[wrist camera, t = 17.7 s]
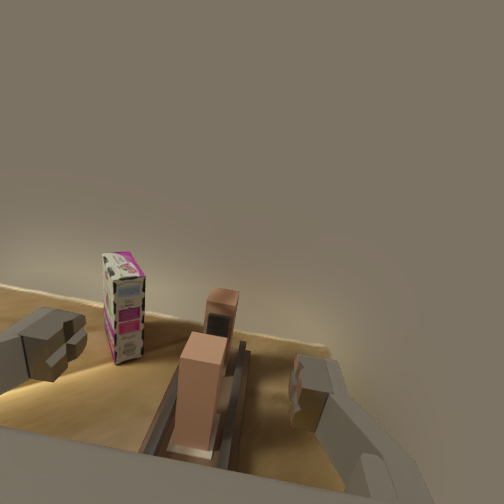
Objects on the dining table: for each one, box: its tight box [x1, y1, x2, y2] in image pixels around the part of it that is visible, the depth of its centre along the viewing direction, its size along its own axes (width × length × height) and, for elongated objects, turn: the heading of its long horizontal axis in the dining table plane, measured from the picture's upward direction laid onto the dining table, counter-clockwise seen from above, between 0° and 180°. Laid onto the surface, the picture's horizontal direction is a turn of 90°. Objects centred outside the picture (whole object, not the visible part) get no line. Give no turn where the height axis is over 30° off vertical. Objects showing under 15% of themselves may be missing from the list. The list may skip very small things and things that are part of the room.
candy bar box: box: [102, 252, 146, 365], centre depth 47 cm, size 11×5×16 cm, turn 35°
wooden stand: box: [138, 287, 251, 472], centre depth 39 cm, size 12×22×16 cm, turn 175°
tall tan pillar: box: [173, 331, 227, 451], centre depth 33 cm, size 4×5×14 cm
